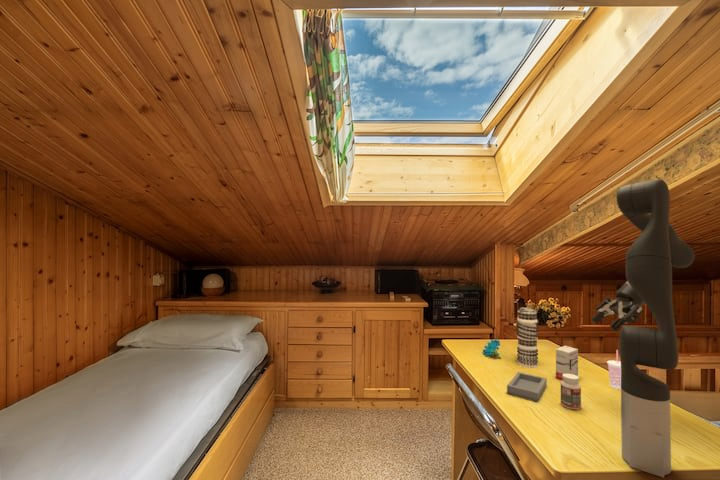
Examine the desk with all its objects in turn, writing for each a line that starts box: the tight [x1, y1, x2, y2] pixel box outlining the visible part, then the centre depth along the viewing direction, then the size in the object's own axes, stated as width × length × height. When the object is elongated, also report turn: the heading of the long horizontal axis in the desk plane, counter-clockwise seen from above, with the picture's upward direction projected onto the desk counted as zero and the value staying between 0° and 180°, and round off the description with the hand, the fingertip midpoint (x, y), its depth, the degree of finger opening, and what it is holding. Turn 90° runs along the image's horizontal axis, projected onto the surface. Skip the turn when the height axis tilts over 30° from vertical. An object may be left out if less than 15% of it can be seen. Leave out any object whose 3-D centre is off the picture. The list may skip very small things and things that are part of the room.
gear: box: [482, 338, 502, 359], centre depth 158 cm, size 11×6×10 cm
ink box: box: [555, 345, 579, 381], centre depth 132 cm, size 8×5×12 cm, turn 123°
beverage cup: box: [606, 349, 621, 391], centre depth 123 cm, size 6×6×14 cm
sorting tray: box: [506, 371, 548, 403], centre depth 121 cm, size 16×10×3 cm, turn 141°
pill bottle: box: [560, 374, 582, 410], centre depth 109 cm, size 6×6×10 cm
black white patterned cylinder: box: [515, 306, 540, 368], centre depth 148 cm, size 9×9×25 cm
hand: (602, 325), depth 109 cm, fingers open, 8 cm apart
